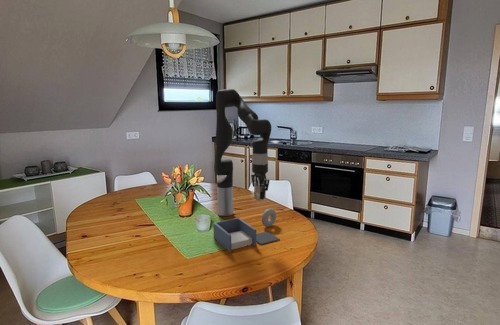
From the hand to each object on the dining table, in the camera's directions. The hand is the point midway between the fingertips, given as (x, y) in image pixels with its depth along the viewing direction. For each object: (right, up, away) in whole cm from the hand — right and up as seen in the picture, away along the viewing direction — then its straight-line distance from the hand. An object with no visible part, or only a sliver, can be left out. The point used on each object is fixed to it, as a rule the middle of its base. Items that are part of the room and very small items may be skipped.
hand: (260, 197), depth 151 cm
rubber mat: (+2, -21, +5) cm, 21 cm away
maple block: (0, -1, 0) cm, 1 cm away
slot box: (-12, -22, +1) cm, 25 cm away
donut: (+5, -18, +20) cm, 28 cm away
